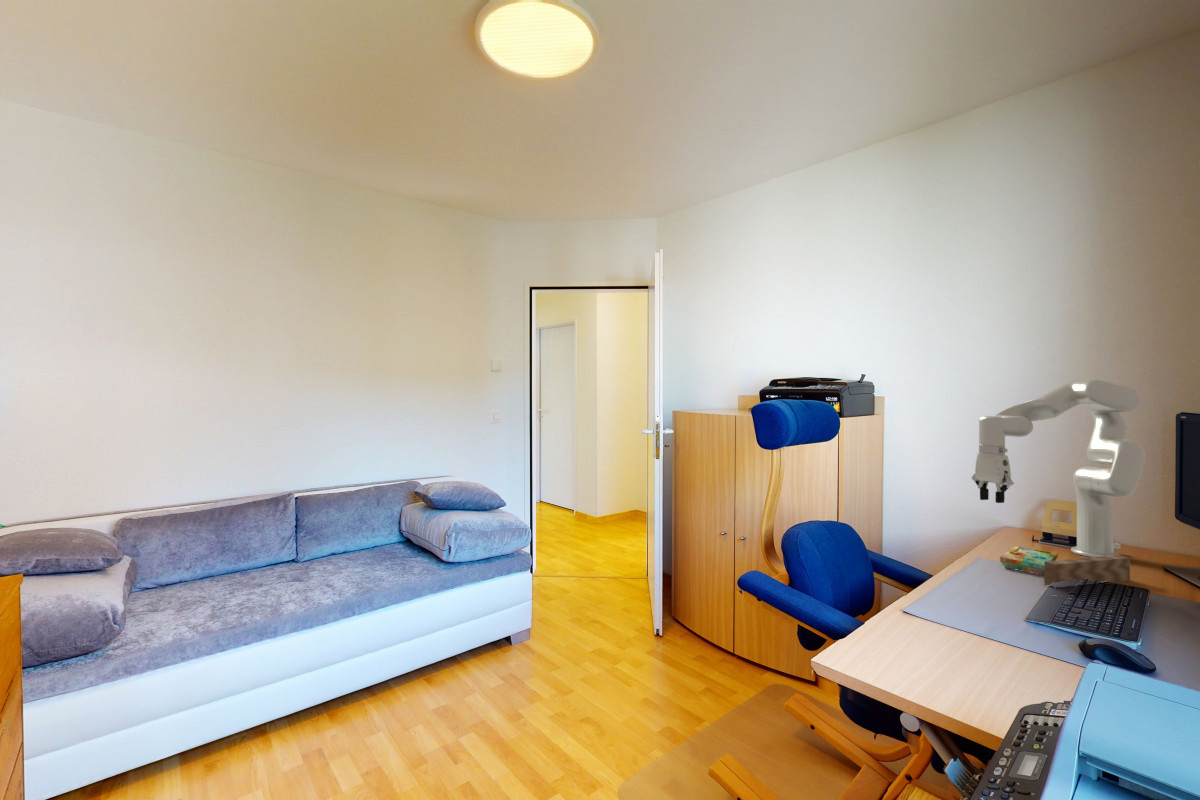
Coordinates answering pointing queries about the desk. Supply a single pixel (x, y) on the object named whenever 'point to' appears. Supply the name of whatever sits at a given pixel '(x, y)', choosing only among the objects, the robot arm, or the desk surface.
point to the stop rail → (1088, 569)
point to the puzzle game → (1027, 559)
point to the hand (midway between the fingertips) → (991, 500)
